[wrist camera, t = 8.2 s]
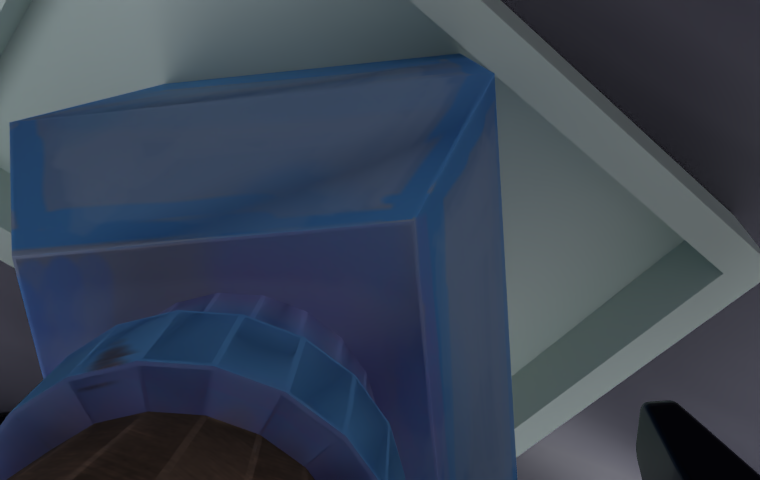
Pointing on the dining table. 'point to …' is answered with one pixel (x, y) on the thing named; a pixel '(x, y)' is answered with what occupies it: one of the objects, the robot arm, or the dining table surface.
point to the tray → (516, 156)
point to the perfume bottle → (266, 280)
